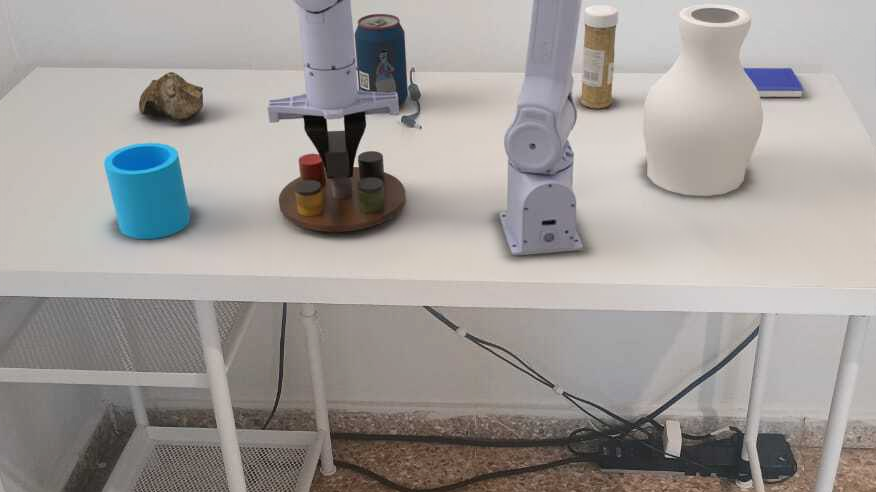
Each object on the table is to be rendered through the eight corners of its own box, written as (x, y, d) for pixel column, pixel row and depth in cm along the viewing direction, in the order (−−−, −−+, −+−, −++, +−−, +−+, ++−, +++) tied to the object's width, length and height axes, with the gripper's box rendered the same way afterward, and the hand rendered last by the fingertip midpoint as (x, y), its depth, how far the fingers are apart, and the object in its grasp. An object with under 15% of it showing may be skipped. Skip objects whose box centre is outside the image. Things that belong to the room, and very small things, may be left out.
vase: (625, 190, 126) (639, 27, 114) (650, 143, 137) (665, -11, 125) (744, 208, 122) (772, 40, 110) (760, 158, 133) (786, 0, 121)
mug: (185, 237, 119) (172, 172, 114) (113, 241, 118) (97, 176, 113) (199, 189, 128) (187, 127, 124) (132, 192, 128) (118, 130, 123)
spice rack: (404, 169, 130) (401, 112, 125) (407, 228, 118) (403, 167, 113) (283, 175, 129) (276, 117, 124) (274, 234, 117) (265, 173, 112)
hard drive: (715, 87, 148) (803, 87, 148) (707, 66, 155) (790, 66, 154) (714, 98, 149) (801, 98, 149) (705, 76, 156) (789, 76, 155)
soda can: (386, 90, 153) (381, 9, 146) (418, 103, 149) (414, 19, 142) (350, 103, 149) (343, 20, 142) (381, 117, 145) (376, 32, 138)
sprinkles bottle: (618, 104, 148) (625, 9, 140) (593, 112, 146) (599, 16, 138) (597, 94, 151) (603, 1, 143) (573, 101, 149) (577, 7, 141)
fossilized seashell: (220, 96, 146) (179, 91, 152) (189, 63, 141) (148, 59, 147) (190, 138, 144) (150, 131, 150) (158, 106, 139) (118, 100, 145)
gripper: (261, 78, 109) (276, 193, 117) (398, 70, 111) (404, 185, 119) (263, 54, 115) (278, 166, 123) (393, 47, 116) (399, 158, 124)
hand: (339, 174), depth 121 cm, fingers closed on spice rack, 2 cm apart
